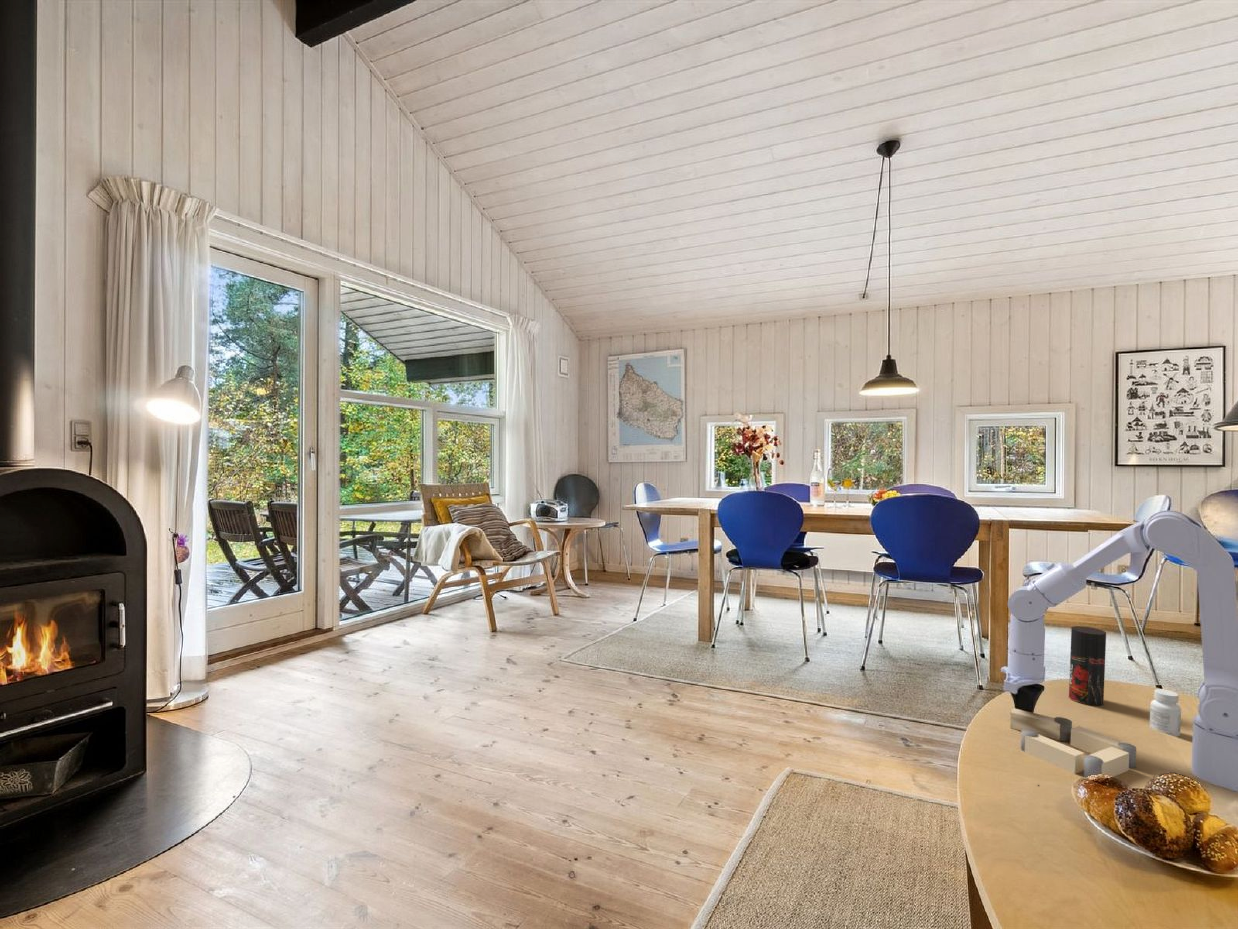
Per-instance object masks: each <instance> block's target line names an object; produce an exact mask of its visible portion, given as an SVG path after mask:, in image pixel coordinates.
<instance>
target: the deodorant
mask: <svg viewBox="0 0 1238 929" xmlns="http://www.w3.org/2000/svg"><path fill="white" fill-rule="evenodd" d="M1070 629H1071V630H1070V632H1071V634H1070V654H1069V657H1070V659H1069V683H1068V686H1069V687H1068V688H1069V689H1068V698H1069V699H1070V700H1072V701H1073V702H1076V703H1079V704H1082V705H1087V706H1094V707H1095V706H1096V707H1100V706H1103V705H1104V699H1105V674H1106V670H1105V669H1106V651H1107V650H1106V649H1107V631H1105V630H1103V629H1099V628H1095V627H1090V626H1082V625H1075V626H1074V625H1073V626H1072V627H1071V628H1070Z"/></svg>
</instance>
